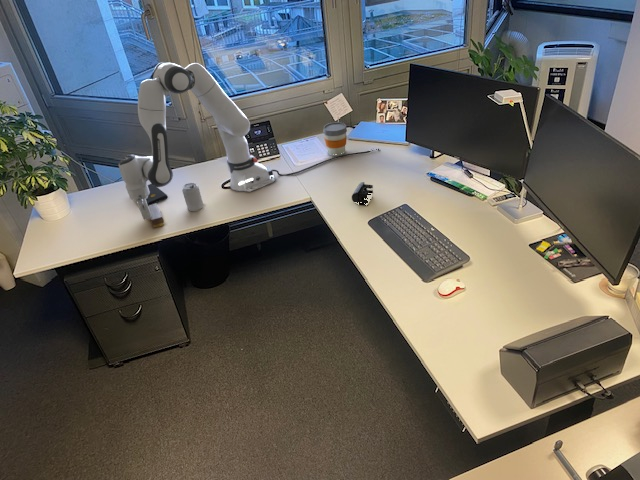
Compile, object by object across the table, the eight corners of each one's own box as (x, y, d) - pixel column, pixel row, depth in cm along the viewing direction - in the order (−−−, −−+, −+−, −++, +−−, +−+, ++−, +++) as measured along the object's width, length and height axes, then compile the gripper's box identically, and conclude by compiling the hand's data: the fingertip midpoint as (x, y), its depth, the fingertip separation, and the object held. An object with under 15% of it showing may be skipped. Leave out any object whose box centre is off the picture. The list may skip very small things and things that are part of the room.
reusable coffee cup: (337, 145, 261) (335, 120, 252) (352, 151, 253) (351, 125, 244) (320, 153, 255) (318, 127, 246) (335, 159, 247) (333, 133, 238)
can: (200, 212, 215) (193, 189, 208) (185, 211, 216) (178, 189, 209) (206, 203, 221) (200, 181, 214) (192, 203, 222) (185, 181, 215)
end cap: (358, 194, 215) (357, 181, 211) (373, 195, 213) (372, 182, 209) (351, 205, 208) (351, 191, 204) (367, 206, 205) (366, 193, 201)
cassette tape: (131, 195, 235) (130, 191, 234) (153, 186, 241) (151, 182, 239) (145, 207, 223) (144, 203, 222) (167, 198, 229) (166, 194, 228)
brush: (159, 211, 219) (157, 203, 216) (164, 225, 208) (162, 216, 206) (149, 214, 218) (146, 206, 215) (153, 228, 207) (150, 220, 204)
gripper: (149, 199, 196) (158, 226, 204) (142, 180, 211) (151, 206, 219) (134, 203, 194) (144, 231, 202) (128, 184, 209) (138, 210, 217)
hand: (148, 218), depth 211 cm, fingers closed, pressing on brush
